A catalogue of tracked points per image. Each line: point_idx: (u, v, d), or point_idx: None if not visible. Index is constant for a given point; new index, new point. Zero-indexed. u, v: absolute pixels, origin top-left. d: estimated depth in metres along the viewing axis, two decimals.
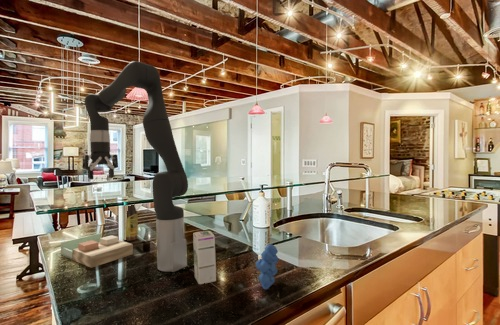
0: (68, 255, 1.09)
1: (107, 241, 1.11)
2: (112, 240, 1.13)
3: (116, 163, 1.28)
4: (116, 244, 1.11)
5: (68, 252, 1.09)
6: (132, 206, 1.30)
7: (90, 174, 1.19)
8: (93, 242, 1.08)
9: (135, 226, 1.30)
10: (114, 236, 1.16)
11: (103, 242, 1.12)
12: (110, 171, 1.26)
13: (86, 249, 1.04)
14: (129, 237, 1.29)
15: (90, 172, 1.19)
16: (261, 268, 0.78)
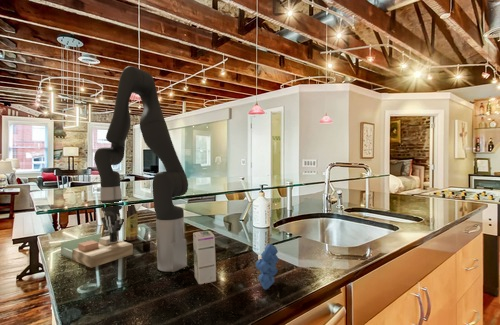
0: (68, 255, 1.09)
1: (106, 241, 1.11)
2: None
3: None
4: (116, 244, 1.11)
5: (68, 252, 1.09)
6: (132, 206, 1.30)
7: None
8: (93, 242, 1.08)
9: (135, 226, 1.30)
10: None
11: (102, 242, 1.12)
12: None
13: (86, 249, 1.04)
14: (129, 237, 1.29)
15: (116, 234, 1.12)
16: (261, 268, 0.78)
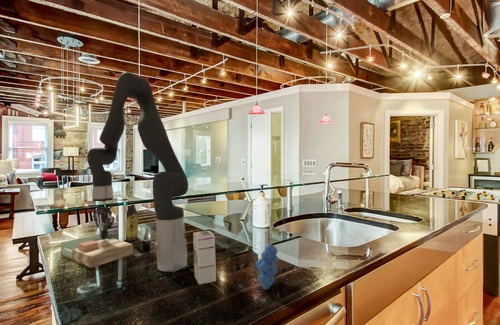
0: (68, 255, 1.09)
1: None
2: None
3: None
4: (116, 244, 1.11)
5: (68, 252, 1.09)
6: (132, 206, 1.30)
7: None
8: (93, 242, 1.08)
9: (135, 226, 1.30)
10: None
11: None
12: None
13: (86, 249, 1.04)
14: (129, 237, 1.29)
15: (107, 231, 1.16)
16: (261, 268, 0.78)
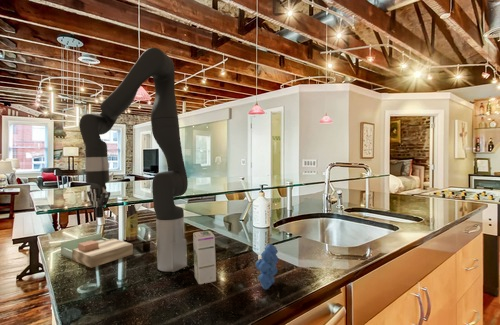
0: (68, 255, 1.09)
1: None
2: None
3: None
4: (116, 244, 1.11)
5: (68, 252, 1.09)
6: (132, 206, 1.30)
7: (102, 211, 1.03)
8: (93, 242, 1.08)
9: (135, 226, 1.30)
10: None
11: None
12: None
13: (86, 249, 1.04)
14: (129, 237, 1.29)
15: (102, 209, 1.03)
16: (261, 268, 0.78)
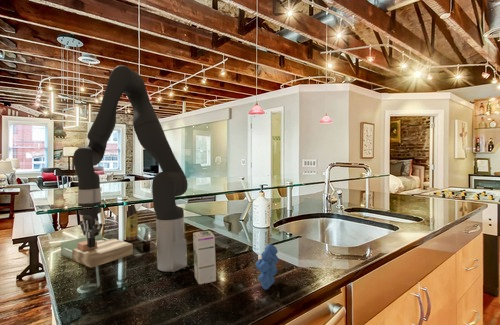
0: (68, 255, 1.09)
1: None
2: None
3: None
4: (116, 244, 1.11)
5: (68, 252, 1.09)
6: (132, 206, 1.30)
7: (94, 241, 1.06)
8: None
9: (135, 226, 1.30)
10: None
11: None
12: None
13: (84, 248, 1.05)
14: (129, 237, 1.29)
15: (94, 239, 1.06)
16: (261, 268, 0.78)
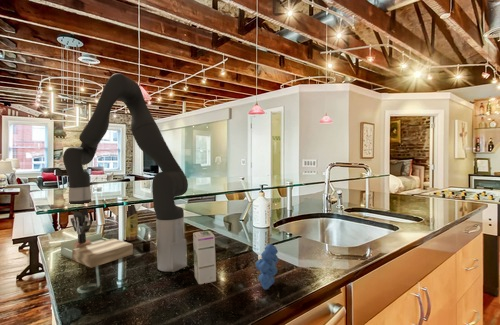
0: (68, 255, 1.09)
1: None
2: None
3: None
4: (116, 244, 1.11)
5: (68, 252, 1.09)
6: (132, 206, 1.30)
7: None
8: None
9: (135, 226, 1.30)
10: None
11: None
12: None
13: (78, 244, 1.09)
14: (129, 237, 1.29)
15: (85, 235, 1.10)
16: (261, 268, 0.78)
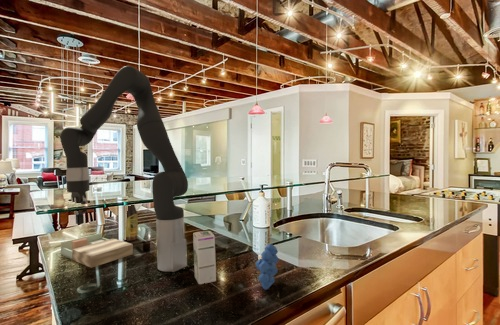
0: (68, 255, 1.09)
1: None
2: None
3: None
4: (116, 244, 1.11)
5: (68, 252, 1.09)
6: (132, 206, 1.30)
7: (83, 218, 1.10)
8: None
9: (135, 226, 1.30)
10: None
11: None
12: None
13: (75, 241, 1.11)
14: (129, 237, 1.29)
15: (82, 216, 1.10)
16: (261, 268, 0.78)
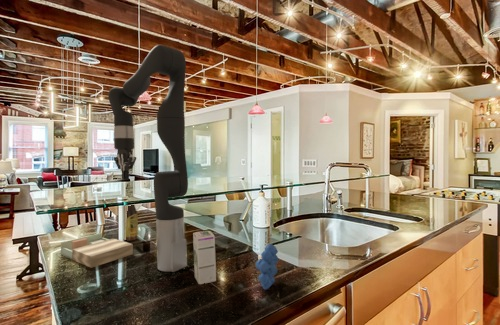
0: (68, 255, 1.09)
1: None
2: None
3: None
4: (116, 244, 1.11)
5: (68, 252, 1.09)
6: (132, 206, 1.30)
7: None
8: None
9: (135, 226, 1.30)
10: None
11: None
12: None
13: (74, 241, 1.11)
14: (129, 237, 1.29)
15: None
16: (261, 268, 0.78)
